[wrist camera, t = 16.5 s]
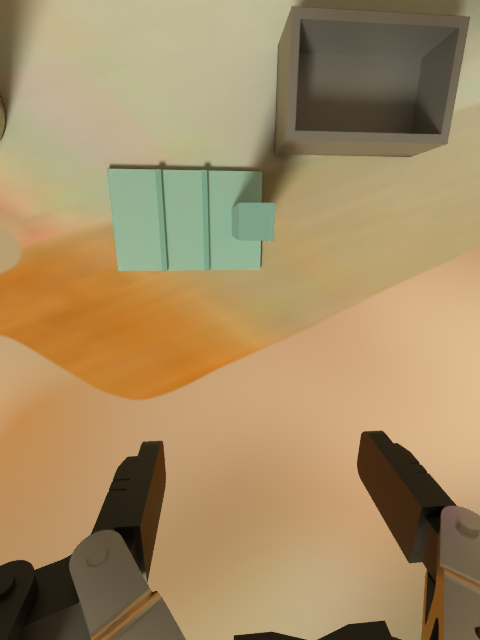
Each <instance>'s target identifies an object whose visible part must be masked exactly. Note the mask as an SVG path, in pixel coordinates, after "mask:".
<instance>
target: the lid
mask: <svg viewBox="0 0 480 640" xmlns="http://www.w3.org/2000/svg"><path fill="white" fill-rule="evenodd" d="M262 173H263V172H261V171H207V170H161V169H155V170H152V169H107V175H108V184H109V192H110V201H111V210H112V219H113V228H114V237H115V246H116V255H117V264H118V271H134V270H162V271H168V270H205V271H207V270H260V256H261V241H274V220H275V203H262Z"/></svg>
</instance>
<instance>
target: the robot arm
mask: <svg viewBox="0 0 480 640" xmlns="http://www.w3.org/2000/svg"><path fill="white" fill-rule="evenodd" d="M4 125H5V114H4V107H3V103H2V100H1V97H0V139H1V137H2V134H3V131H4ZM357 468H358V473H359V476H360V479H361V481H362V482H363V484H364V486H365V487H366V489H367V491H368V492H369V494H370V496H371V498H372V500H373V501H374V503H375V505H376V507H377V508H378V510H379V512H380V514H381V515H382V517H383V518H384V520H385V522H386V524H387V526H388V527H389V529H390V531H391V533H392V534H393V536H394V538H395V539H396V541H397V543H398V544H399V547H400V548H401V550H402V552H403V553H404V555H405V557H406V559H407V560H408V562H409V563H417V562H423V564H424V565H425V567H426V568H427V571H426V575H425V587H424V604H423V620H422V634H421V640H480V516H479V515H478V514H476V513H474V512H473V511H471V510H468V509H466V508H463V507H459V506H457V505H456V504H455V503H454V502H453V501H452V500H451V499H450V497H449V496H448V495H447V494H446V493H445V492H444V491H443V490H442V488H441V487H440V486H439V485H438V483H437V482H436V481H435V480H434V479H433V478H432V477H431V475H430V474H428V473H427V471H426V470H425V468H424V467H423V466H422V465H420V464H419V461H418V460H417V459H416V458H415V457H414V456H413V455H412V453H411V452H410V451H408V450H407V449H405V448H404V447H402V446H401V445H399V444H398V443H395V444H394V443H393V442H392V441H391V440H390V439H389V437H388V436H387V435H386V434H385V433H384V432H383V431H365V432H363V433H362V434H361V440H360V446H359V453H358V461H357ZM165 483H166V471H165V458H164V446H163V441H148V442H143V443H142V445H141V447H140V451H139V454H138V456H133V457H127V458H126V459H125V460H124V461H123V462H122V464H121V465H120V466H119V467H118V468H117V471H116V473H115V476H114V478H113V482H112V483H111V486H110V488H109V492H108V493H107V496H106V498H105V501H104V503H103V506H102V508H101V511H100V513H99V516H98V519H97V521H96V524H95V526H94V528H93V531H92V533H91V535H90V536H88V537H87V538H85V539H84V540H83V541H82V542H81V543H80V544H79V545H78V546H77V547H76V548H75V550H74V552H73V553H72V554H71V555H70V556H68V557H66V558H64V559H62V560H60V561H57V562H55V563H52V564H49V565H47V566H44V567H41V568H39V569H36V570H34V568H33V566H32V564H31V563H29V562H27V561H24V560H16V561H11V562H8V563H6V564H4V565H1V566H0V640H186V639H185V637H184V635H183V634H182V632H181V630H180V628H179V626H178V625H177V623H176V621H175V619H174V618H173V616H172V614H171V612H170V610H169V609H168V607H167V606H166V604H165V602H164V600H163V598H162V597H161V595H160V594H159V593H158V592H157V591H155V592H152V591H151V589H150V588H149V586H148V584H147V582H148V577H149V571H150V566H151V561H152V555H153V550H154V545H155V539H156V534H157V528H158V523H159V518H160V513H161V507H162V502H163V497H164V492H165ZM234 640H305V639H301V638H297V637H292V636H288V635H283V634H279V633H275V632H265V633H255V634H245V635H235V636H234ZM318 640H401V639H398V638H395V637H392V636H391V634H390V632H389V630H388V627H387V625H386V623H385V621H377V622H367V623H356V624H348V625H346V626H344V627H342V628H341V629H338V630H336V631H334V632H332V633H330V634H328V635H326V636H324V637H322V638H320V639H318Z"/></svg>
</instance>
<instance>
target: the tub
mask: <svg viewBox="0 0 480 640" xmlns="http://www.w3.org/2000/svg"><path fill="white" fill-rule="evenodd" d="M469 20H470V17H467V16H450V15H432V14H415V13H397V12H380V11H363V10H345V9H328V8H310V7H293V6H292V7H291V10H290V13H289V16H288V19H287V22H286V24H285V27H284V30H283V33H282V36H281V39H280V41H279V44H278V59H277V90H276V121H275V152H274V154H291V155H339V156H388V157H412V156H414V155H417V154H420V153H423V152H426V151H429V150H431V149H434V148H437V147H440V146H443V145H446V144H447V143H448V137H449V132H450V126H451V121H452V115H453V109H454V104H455V98H456V93H457V87H458V81H459V76H460V70H461V65H462V59H463V53H464V48H465V42H466V37H467V31H468V25H469Z"/></svg>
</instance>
